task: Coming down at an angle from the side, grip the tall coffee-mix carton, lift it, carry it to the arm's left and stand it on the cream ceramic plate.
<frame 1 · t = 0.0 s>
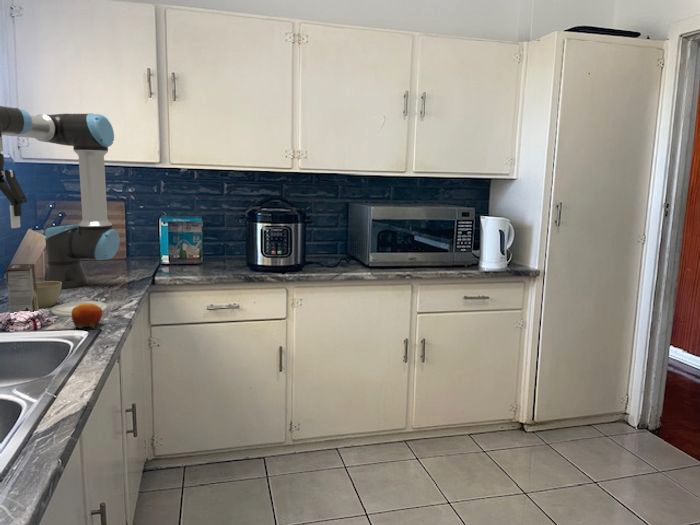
coffee box: (25, 319, 165), on the countertop
plate: (79, 310, 175), on the countertop
fruit: (88, 326, 158), on the countertop
flower pot: (46, 305, 181), on the countertop
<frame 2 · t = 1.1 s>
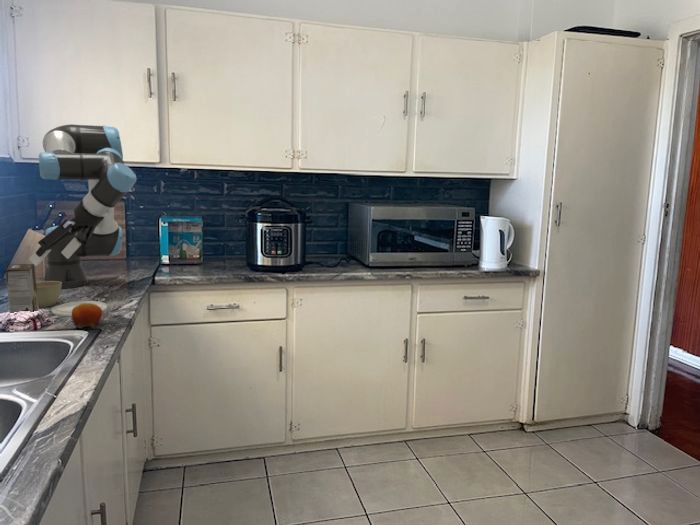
hand: (49, 258, 160), 19 cm above the countertop, tool tilted 45°, fingers open, 13 cm apart
nothing on the countertop moved.
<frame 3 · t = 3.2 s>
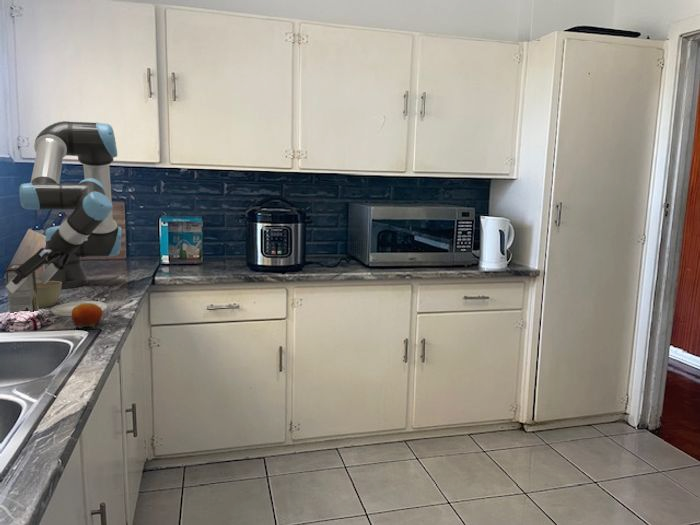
hand: (26, 285, 162), 11 cm above the countertop, tool tilted 45°, fingers open, 13 cm apart
nothing on the countertop moved.
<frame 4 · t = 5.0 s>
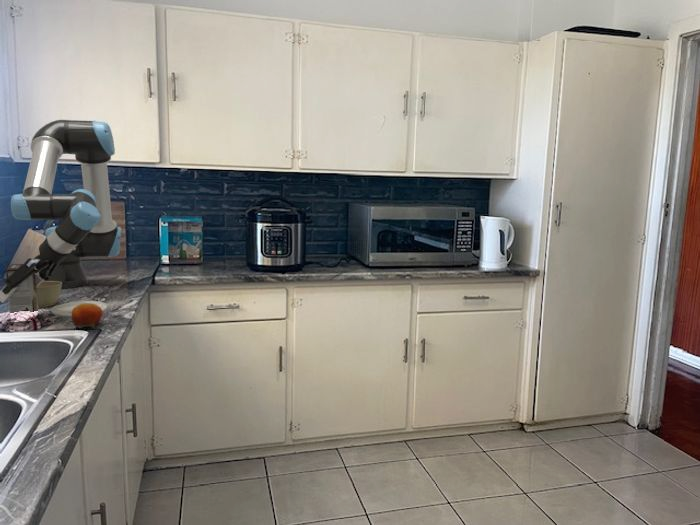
hand: (14, 295, 164), 7 cm above the countertop, tool tilted 45°, fingers closed on coffee box, 11 cm apart
coffee box: (24, 319, 165), on the countertop, touching gripper
everything else where it was.
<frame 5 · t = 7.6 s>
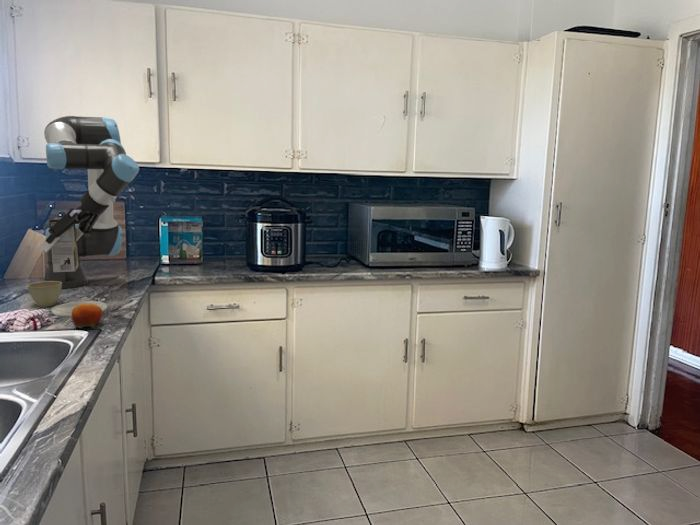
hand: (55, 246, 170), 21 cm above the countertop, tool tilted 45°, fingers closed on coffee box, 10 cm apart
coffee box: (66, 270, 171), point 14 cm above the countertop, touching gripper
everything else where it was.
when the fingers open (10 cm above the countertop, at t = 10.5 s): coffee box drops 1 cm, resting on plate.
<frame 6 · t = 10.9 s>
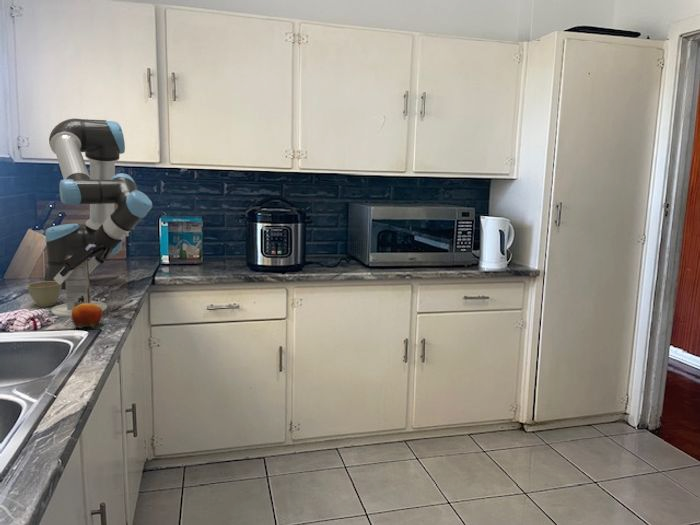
hand: (70, 277, 174), 11 cm above the countertop, tool tilted 45°, fingers open, 13 cm apart
coffee box: (79, 306, 175), point 1 cm above the countertop, touching plate
everything else where it was.
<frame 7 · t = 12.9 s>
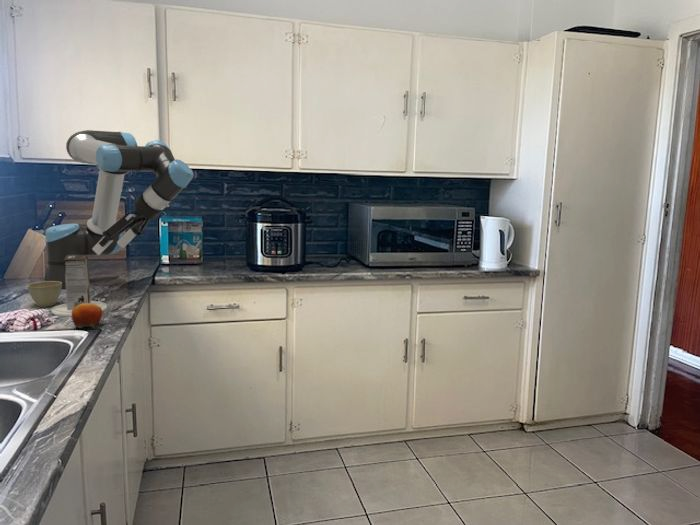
hand: (108, 248, 170), 21 cm above the countertop, tool tilted 45°, fingers open, 13 cm apart
nothing on the countertop moved.
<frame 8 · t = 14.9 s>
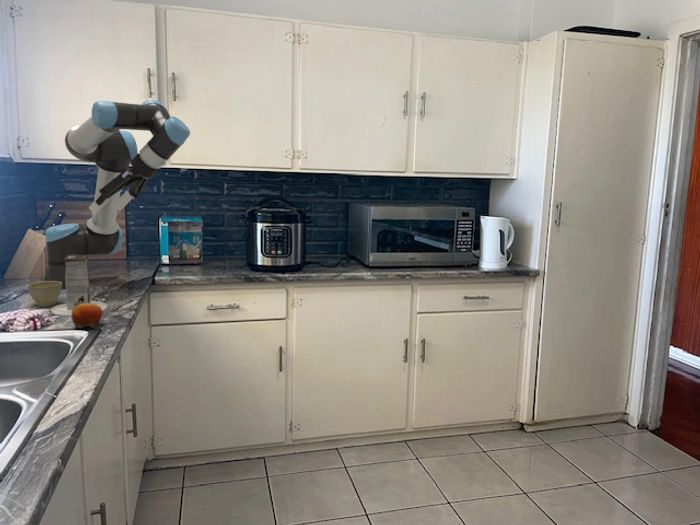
hand: (105, 209, 169), 33 cm above the countertop, tool tilted 45°, fingers open, 13 cm apart
nothing on the countertop moved.
at the end: coffee box 0.3 cm from the plate (horizontally); coffee box touching plate; coffee box tilted 0° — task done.
